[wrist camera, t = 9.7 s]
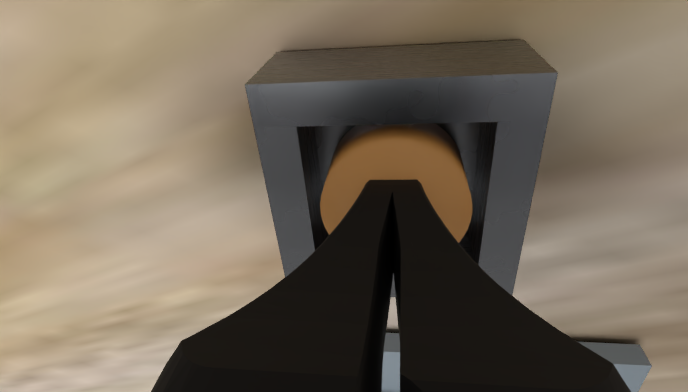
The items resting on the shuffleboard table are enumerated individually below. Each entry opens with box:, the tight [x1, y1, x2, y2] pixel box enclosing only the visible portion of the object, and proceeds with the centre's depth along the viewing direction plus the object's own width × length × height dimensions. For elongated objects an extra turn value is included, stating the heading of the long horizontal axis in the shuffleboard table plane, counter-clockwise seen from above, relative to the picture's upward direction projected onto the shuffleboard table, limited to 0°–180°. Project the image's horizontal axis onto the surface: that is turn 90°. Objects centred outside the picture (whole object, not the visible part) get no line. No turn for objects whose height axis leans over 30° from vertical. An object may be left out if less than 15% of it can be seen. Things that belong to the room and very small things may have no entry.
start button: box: [320, 123, 472, 243], centre depth 12 cm, size 4×4×2 cm
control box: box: [245, 40, 558, 297], centre depth 12 cm, size 7×7×3 cm
